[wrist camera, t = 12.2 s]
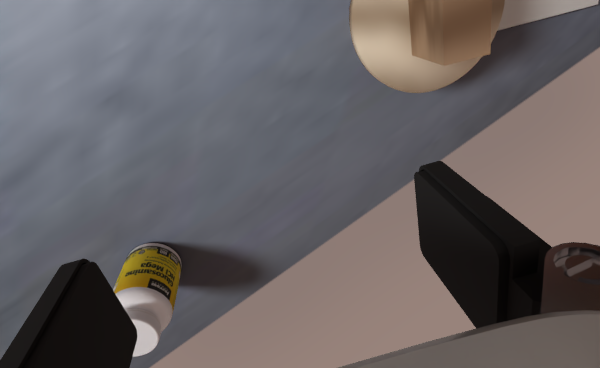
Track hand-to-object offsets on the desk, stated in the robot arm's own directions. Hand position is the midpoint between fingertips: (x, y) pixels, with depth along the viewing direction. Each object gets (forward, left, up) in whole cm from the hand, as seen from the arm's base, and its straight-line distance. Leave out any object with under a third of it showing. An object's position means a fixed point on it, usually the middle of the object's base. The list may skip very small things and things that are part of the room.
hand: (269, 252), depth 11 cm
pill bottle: (+18, -16, -28) cm, 37 cm away
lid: (-2, +16, -23) cm, 28 cm away
